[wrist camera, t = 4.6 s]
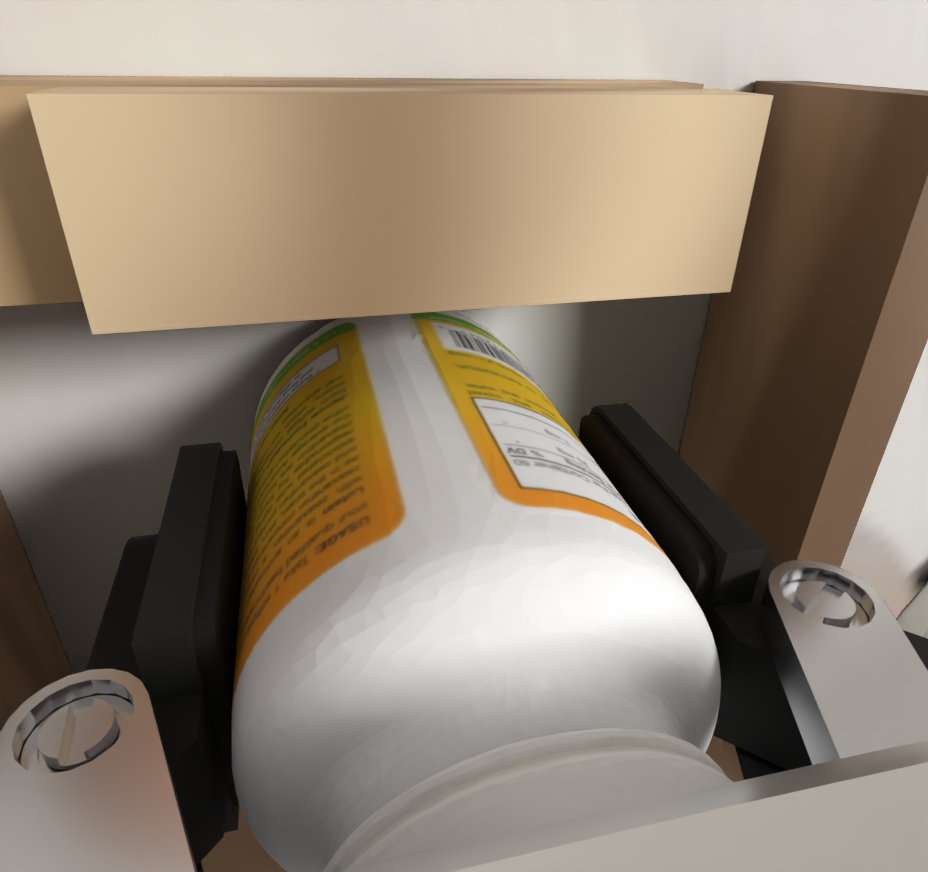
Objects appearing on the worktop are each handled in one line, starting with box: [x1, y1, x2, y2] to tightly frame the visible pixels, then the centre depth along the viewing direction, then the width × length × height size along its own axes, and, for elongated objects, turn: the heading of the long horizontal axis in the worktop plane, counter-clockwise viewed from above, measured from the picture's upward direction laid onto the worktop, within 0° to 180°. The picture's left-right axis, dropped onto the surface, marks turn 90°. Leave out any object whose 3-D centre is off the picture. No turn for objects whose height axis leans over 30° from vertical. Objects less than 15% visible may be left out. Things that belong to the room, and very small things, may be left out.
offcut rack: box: [0, 75, 928, 872], centre depth 10 cm, size 15×13×7 cm
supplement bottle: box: [232, 311, 733, 872], centre depth 9 cm, size 5×5×10 cm
